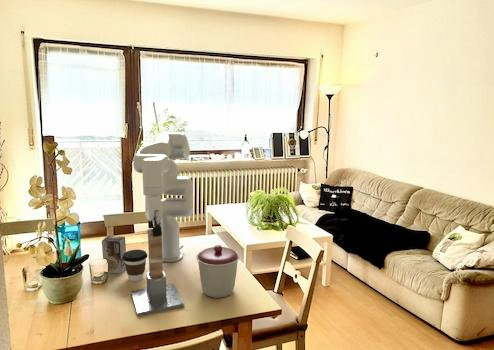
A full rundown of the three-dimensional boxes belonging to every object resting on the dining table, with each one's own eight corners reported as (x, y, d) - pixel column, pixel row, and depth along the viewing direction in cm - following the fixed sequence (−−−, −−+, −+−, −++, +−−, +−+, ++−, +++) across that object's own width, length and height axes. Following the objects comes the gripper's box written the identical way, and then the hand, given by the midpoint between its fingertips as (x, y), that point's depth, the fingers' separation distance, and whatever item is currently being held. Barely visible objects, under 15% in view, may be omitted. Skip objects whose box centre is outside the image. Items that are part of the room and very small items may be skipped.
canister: (236, 280, 174) (236, 237, 170) (241, 301, 157) (242, 253, 153) (196, 283, 172) (195, 238, 168) (197, 304, 154) (196, 255, 150)
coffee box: (127, 268, 186) (125, 236, 183) (121, 274, 180) (120, 241, 176) (109, 267, 187) (107, 235, 184) (103, 272, 180) (101, 240, 177)
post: (149, 276, 156) (147, 229, 152) (160, 274, 158) (159, 228, 154) (151, 281, 152) (149, 233, 148) (163, 279, 153) (161, 231, 150)
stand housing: (131, 294, 161) (129, 269, 159) (173, 286, 168) (173, 262, 166) (137, 316, 145) (136, 288, 143) (184, 306, 152) (183, 280, 150)
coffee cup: (141, 285, 169) (140, 259, 167) (118, 282, 171) (117, 257, 169) (152, 274, 180) (151, 250, 177) (130, 271, 182) (129, 248, 179)
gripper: (139, 185, 154) (141, 226, 157) (147, 196, 138) (149, 241, 142) (158, 184, 157) (159, 223, 161) (168, 194, 141) (169, 238, 145)
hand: (154, 231), depth 151 cm, fingers open, 9 cm apart
